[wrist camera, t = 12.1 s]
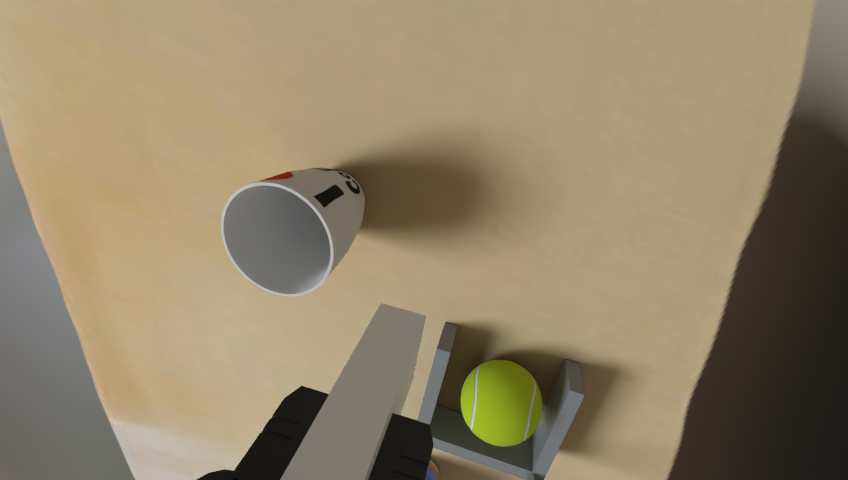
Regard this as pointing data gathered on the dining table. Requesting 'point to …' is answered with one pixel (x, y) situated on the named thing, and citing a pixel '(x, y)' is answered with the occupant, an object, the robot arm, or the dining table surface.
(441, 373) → the gray u frame
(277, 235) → the cup
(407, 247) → the dining table surface
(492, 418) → the tennis ball
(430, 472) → the pill bottle
